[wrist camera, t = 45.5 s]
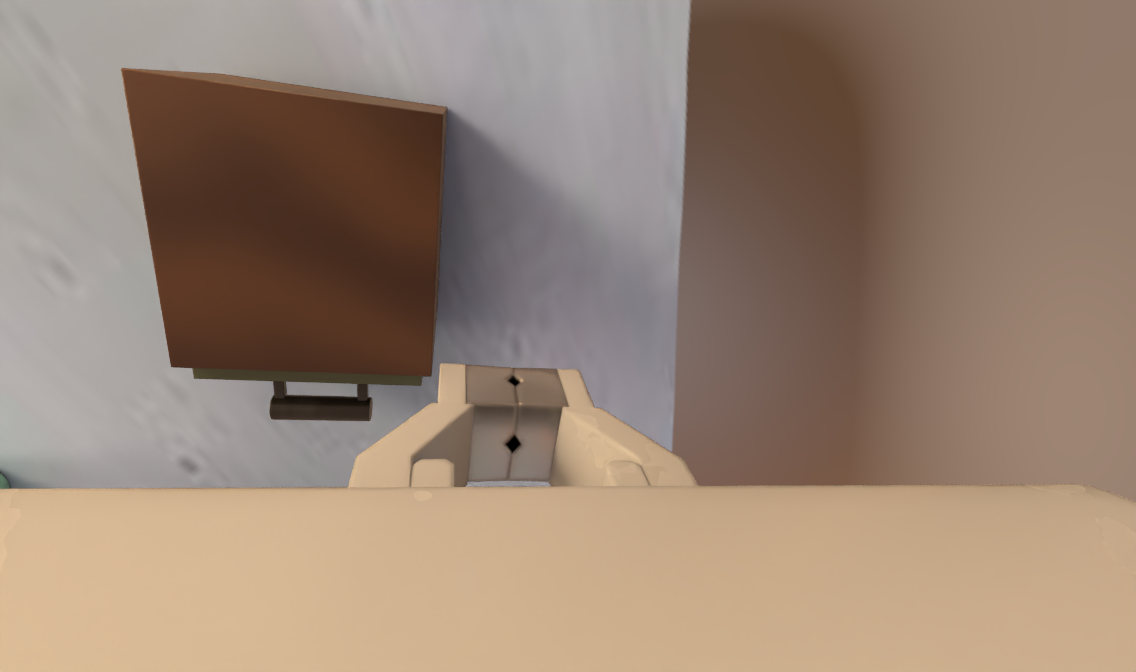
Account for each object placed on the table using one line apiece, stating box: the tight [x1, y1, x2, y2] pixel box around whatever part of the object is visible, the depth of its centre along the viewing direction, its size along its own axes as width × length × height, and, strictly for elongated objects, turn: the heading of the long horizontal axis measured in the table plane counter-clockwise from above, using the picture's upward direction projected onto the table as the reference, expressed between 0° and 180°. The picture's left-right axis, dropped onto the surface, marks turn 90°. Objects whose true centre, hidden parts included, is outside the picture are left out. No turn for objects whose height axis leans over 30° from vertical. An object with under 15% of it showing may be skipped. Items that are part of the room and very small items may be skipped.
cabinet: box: [121, 68, 447, 376], centre depth 33 cm, size 15×14×11 cm
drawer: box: [193, 368, 422, 421], centre depth 34 cm, size 18×13×9 cm
